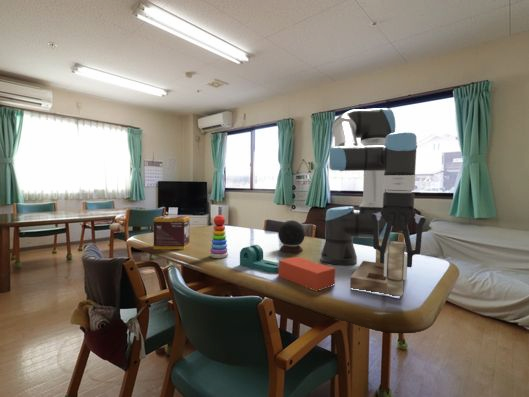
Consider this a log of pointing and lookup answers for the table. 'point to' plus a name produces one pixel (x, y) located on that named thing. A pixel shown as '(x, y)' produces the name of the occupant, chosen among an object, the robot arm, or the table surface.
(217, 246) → the stacking toy
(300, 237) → the black ball on stand
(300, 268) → the brick
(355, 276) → the walnut board
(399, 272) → the beech leg
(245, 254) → the bracket
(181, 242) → the supplement box
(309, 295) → the table surface
